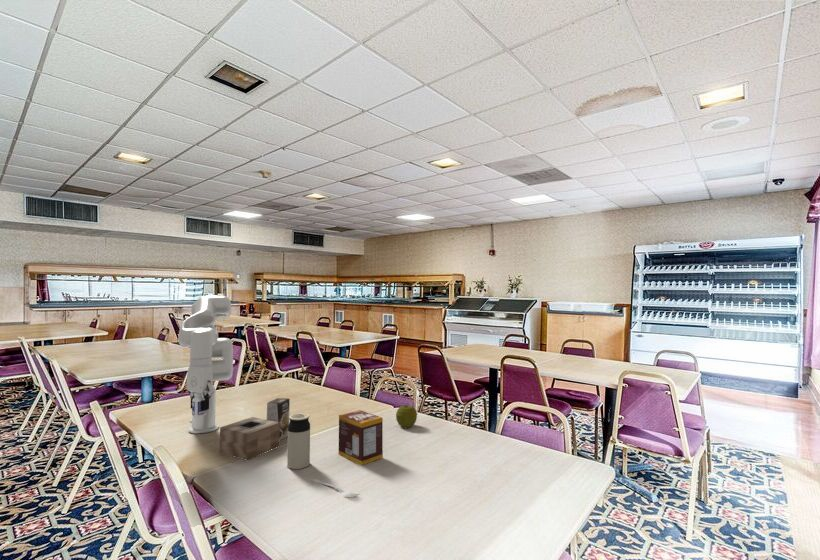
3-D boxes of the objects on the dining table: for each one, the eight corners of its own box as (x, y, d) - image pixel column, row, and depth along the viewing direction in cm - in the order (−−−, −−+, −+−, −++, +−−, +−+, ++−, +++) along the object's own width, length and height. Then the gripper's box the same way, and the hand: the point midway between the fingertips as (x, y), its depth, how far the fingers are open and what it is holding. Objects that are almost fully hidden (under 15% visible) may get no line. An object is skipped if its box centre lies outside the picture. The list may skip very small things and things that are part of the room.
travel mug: (289, 471, 146) (290, 420, 146) (285, 463, 153) (286, 414, 153) (311, 467, 149) (312, 417, 150) (306, 459, 156) (307, 411, 157)
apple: (392, 428, 193) (392, 405, 193) (400, 422, 202) (401, 400, 202) (412, 431, 189) (412, 407, 190) (419, 425, 198) (419, 402, 199)
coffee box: (279, 441, 175) (279, 403, 176) (265, 440, 177) (266, 402, 177) (289, 434, 184) (290, 398, 185) (276, 433, 186) (277, 397, 186)
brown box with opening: (219, 452, 163) (220, 427, 163) (252, 440, 177) (252, 416, 177) (247, 460, 155) (248, 433, 155) (279, 446, 169) (279, 422, 170)
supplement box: (358, 447, 169) (359, 409, 170) (383, 458, 158) (383, 417, 159) (337, 454, 162) (338, 414, 162) (361, 465, 151) (362, 423, 151)
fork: (313, 476, 142) (313, 471, 143) (361, 498, 127) (361, 493, 127) (305, 479, 140) (305, 474, 140) (353, 502, 125) (353, 497, 125)
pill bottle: (209, 412, 162) (210, 390, 162) (203, 417, 156) (203, 393, 156) (195, 412, 161) (196, 390, 162) (189, 417, 156) (189, 393, 156)
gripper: (177, 361, 160) (176, 408, 160) (206, 365, 152) (205, 414, 152) (195, 358, 167) (194, 403, 166) (223, 362, 159) (222, 409, 158)
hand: (199, 408), depth 159 cm, fingers closed on pill bottle, 5 cm apart
